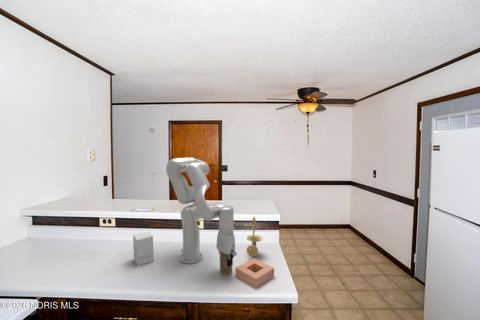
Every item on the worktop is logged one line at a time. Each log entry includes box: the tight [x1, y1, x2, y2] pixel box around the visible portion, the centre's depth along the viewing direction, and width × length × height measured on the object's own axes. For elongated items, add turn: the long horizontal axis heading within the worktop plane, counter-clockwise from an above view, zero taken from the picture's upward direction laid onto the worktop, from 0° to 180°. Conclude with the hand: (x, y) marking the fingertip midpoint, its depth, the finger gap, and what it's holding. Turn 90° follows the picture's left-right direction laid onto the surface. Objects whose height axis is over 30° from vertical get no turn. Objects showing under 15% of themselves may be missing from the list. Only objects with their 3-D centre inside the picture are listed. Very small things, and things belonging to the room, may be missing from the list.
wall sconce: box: [246, 216, 264, 259], centre depth 143 cm, size 14×10×25 cm
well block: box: [234, 258, 275, 289], centre depth 123 cm, size 14×14×4 cm
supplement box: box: [132, 231, 155, 267], centre depth 138 cm, size 9×9×15 cm
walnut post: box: [219, 251, 233, 276], centre depth 126 cm, size 4×4×13 cm
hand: (226, 263), depth 127 cm, fingers open, 5 cm apart
